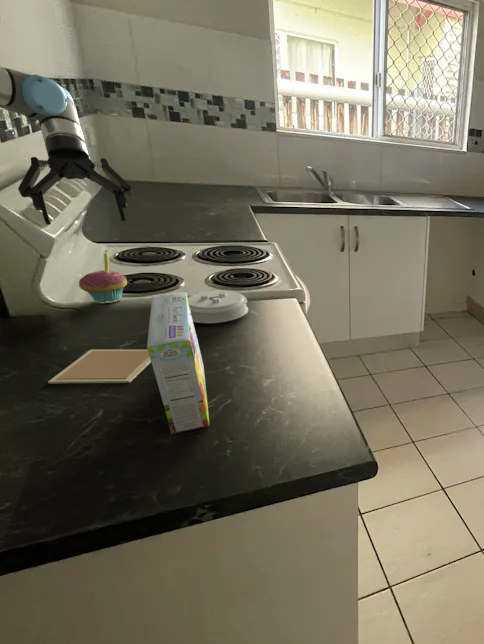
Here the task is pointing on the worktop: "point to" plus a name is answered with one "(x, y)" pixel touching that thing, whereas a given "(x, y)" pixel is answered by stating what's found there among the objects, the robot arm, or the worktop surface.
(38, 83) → the robot arm
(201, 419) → the snack box
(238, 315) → the lid
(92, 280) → the cupcake
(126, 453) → the worktop surface
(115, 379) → the tan square board
